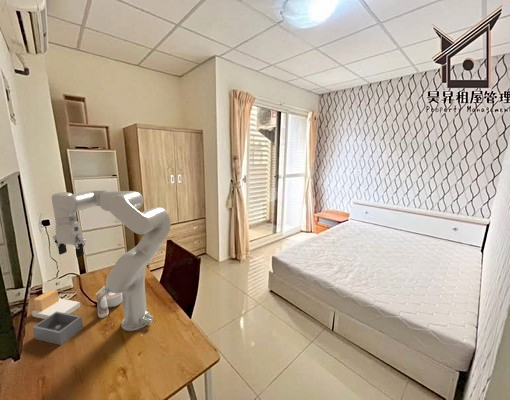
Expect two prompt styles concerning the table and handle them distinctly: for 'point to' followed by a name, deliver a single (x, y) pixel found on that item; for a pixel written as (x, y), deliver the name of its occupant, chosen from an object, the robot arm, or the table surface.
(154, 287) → the table surface
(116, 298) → the cosmetic set
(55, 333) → the tub
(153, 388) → the table surface
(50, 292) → the lid
